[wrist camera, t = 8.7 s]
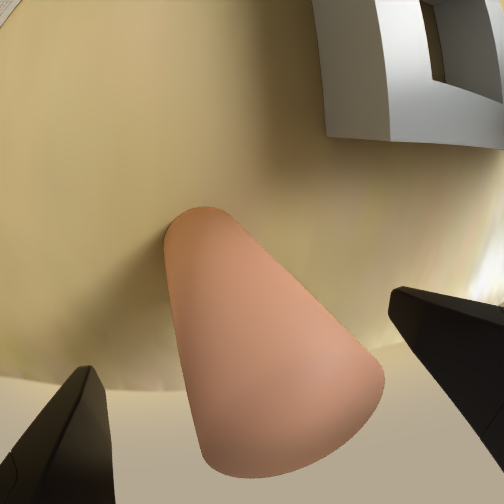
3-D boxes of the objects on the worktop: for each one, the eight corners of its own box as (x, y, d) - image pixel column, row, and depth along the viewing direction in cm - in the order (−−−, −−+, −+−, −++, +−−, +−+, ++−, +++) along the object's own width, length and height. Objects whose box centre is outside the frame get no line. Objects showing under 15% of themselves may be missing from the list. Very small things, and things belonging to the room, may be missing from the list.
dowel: (238, 200, 15) (400, 321, 5) (246, 274, 16) (367, 439, 7) (156, 214, 14) (175, 391, 4) (171, 290, 15) (219, 492, 6)
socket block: (447, -12, 13) (492, -21, 9) (468, 142, 19) (519, 152, 14) (298, -70, 10) (340, -109, 5) (326, 136, 15) (390, 141, 11)
